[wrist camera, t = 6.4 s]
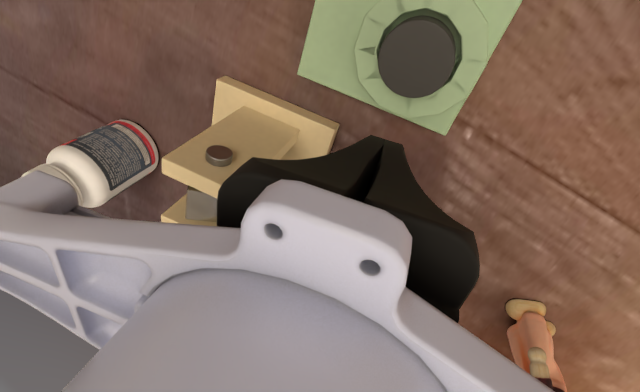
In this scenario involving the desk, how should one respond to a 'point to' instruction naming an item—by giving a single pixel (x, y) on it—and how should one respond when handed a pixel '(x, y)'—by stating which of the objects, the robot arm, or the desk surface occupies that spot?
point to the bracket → (243, 141)
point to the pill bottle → (103, 161)
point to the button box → (368, 35)
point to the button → (417, 57)
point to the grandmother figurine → (534, 342)
